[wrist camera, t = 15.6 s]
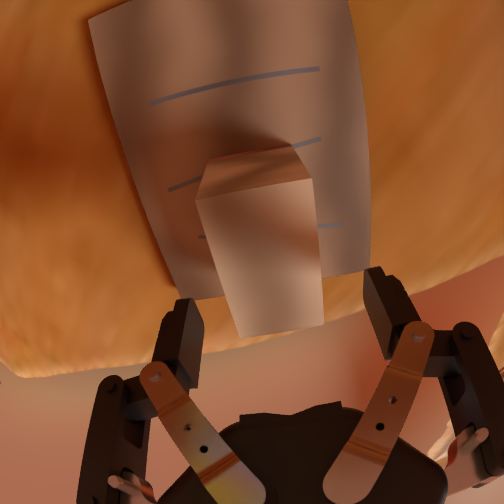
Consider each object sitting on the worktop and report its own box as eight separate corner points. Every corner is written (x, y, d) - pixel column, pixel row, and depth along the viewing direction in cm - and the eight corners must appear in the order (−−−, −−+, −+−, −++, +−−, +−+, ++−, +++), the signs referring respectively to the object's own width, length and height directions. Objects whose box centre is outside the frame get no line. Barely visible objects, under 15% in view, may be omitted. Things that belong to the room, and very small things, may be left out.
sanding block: (290, 144, 17) (312, 178, 12) (307, 264, 22) (323, 324, 17) (208, 159, 18) (194, 200, 13) (240, 276, 23) (240, 338, 18)
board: (331, -30, 12) (338, -36, 11) (363, 258, 24) (369, 269, 23) (97, 22, 13) (87, 19, 12) (185, 289, 25) (183, 302, 24)
